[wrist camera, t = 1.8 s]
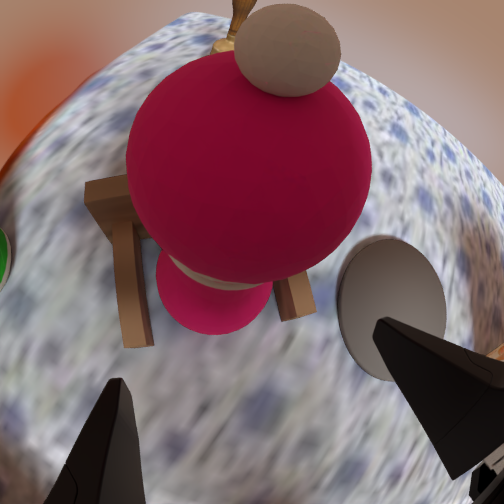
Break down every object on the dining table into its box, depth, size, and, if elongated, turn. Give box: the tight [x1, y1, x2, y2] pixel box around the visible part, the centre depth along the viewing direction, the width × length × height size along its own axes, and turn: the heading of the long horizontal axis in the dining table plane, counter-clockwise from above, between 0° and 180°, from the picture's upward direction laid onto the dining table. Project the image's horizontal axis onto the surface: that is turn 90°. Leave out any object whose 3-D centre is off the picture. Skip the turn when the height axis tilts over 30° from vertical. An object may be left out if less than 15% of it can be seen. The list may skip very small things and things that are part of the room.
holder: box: [84, 174, 317, 348], centre depth 19 cm, size 10×15×7 cm, turn 103°
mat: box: [338, 239, 446, 382], centre depth 24 cm, size 14×14×1 cm
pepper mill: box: [126, 4, 372, 335], centre depth 12 cm, size 7×7×20 cm
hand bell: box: [210, 0, 257, 55], centre depth 23 cm, size 8×8×16 cm
